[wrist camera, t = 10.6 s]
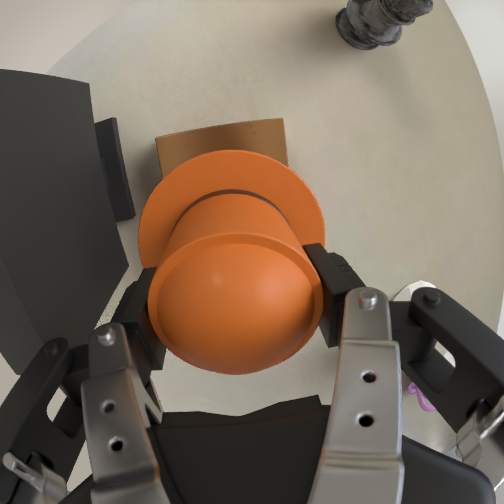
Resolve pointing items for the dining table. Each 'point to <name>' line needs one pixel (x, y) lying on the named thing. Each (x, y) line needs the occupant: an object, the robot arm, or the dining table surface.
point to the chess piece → (378, 20)
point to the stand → (223, 142)
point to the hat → (232, 261)
